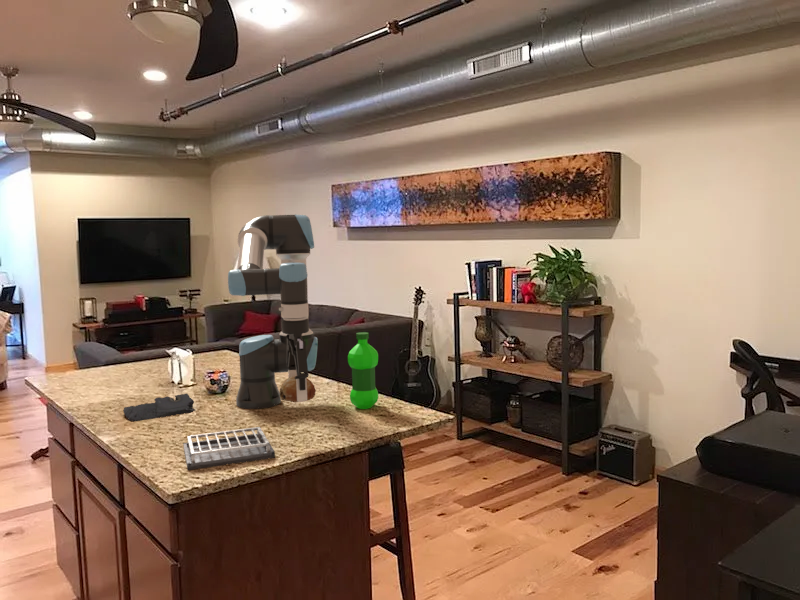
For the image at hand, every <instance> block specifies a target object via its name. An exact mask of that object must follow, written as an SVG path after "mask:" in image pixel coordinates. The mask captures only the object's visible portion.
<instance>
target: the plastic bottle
mask: <svg viewBox="0 0 800 600" xmlns="http://www.w3.org/2000/svg"><path fill="white" fill-rule="evenodd" d="M369 334H370V333H369V332H366V331H363V332H356V333H355V336H356V337H355V338H356V340H357V343H356V345H354V346H353V347H352V348H351V350H349V352H348V355H347V363H348V366H349V367H350V368H351V378H352V379H351V380H352V381H351V382H352V383H351V384H352V388H351V391H350V394H349V400H350V402H351V404H352V405H353V406H355V407H356V408H357V409H360V410H365V409H366V410H369V409H371V408H373V407H374V406H375V405H376V403H377V402H378V401H379V392H378V389H377V388H376V366H378V364H379V363H378V362H379V353H378V350H376V349H375V348H374V347H373V345H370V343H368V340H369V339H370V336H369Z"/></svg>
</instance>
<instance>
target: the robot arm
mask: <svg viewBox="0 0 800 600" xmlns="http://www.w3.org/2000/svg"><path fill="white" fill-rule="evenodd" d="M310 219H311V218H310V217H309V216H308V215H306V214H305V215H304V214H296V213H295V214H277V215H276V214H275V215H274V214H273V215H270V214H269V215H268V214H267V215H266V214H265V215H260V216H256V217H254V218H253V219H251V220H249V221H248V222H246V223H245V224H244V225H243V226H242V227H241V229H240V231H239V233H238V236H237V244H238V248H239V253H238V259H237V267H236V269H231V270H229V271H228V273H227V285H228V293H229V294H230V295H231V296H241V297H245V296H261V295H262V296H263V295H265V296H266V295H280V306H281V307H278V311H279V312H280V313H281V315H280V316H281V318H282V320H281V322H280V323H281V324H280V325H281V331H280V332H279V334H278V335H279V338H274V336H273V335H272V334H262V335H256V336H252V337H248V338H244V339H243V340H241V342H239V344H238V345H239V347H238V350H239V351H238V352H239V353H238V356H239V373H240V374H239V376H240V377H239V378H240V385H239V388H238V390H237V395H236V400H235V401H236V402H235V404H236V406H237V407H239V408H241V409H249V410H250V409H251V410H255V409H256V410H257V409H266V408H267V409H268V408H272V407H274V406H275V407H276V406H277V405H279V404H281V402H282V400H280V389H279V388H278V386H277V382H276V379H275V378H276V376H275V375H276V374H278V373H287V374H288V375H287V377H288V378H289V377H292V376H295V379H296V387H297V402H296V403H303V402H308V401H307V379H308V378H309V376H310V375H309V372H310V371H313V370H314V369H315V367H316V363H317V356H318V343H319V342H318V340H319V339H318V337H316V336H314V331H312V329H310V324H309V323H310V320H309V316H310V315H309V314H310V313H309V312H310V311H309V301H308V300H309V299H308V298H309V297H308V271H307V270H308V269H307V259H308V257H309V256H310V255H311V250H312V249H314V248H315V241H314V235H313V228H312V223H311V220H310ZM265 250H275V255H276V256H277V257H278V258H279V259H280V265H279V267H277V268H264V258H265V257H264V255H265V254H264V252H265ZM288 378H287V379H288Z"/></svg>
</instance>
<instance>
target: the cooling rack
mask: <svg viewBox="0 0 800 600" xmlns="http://www.w3.org/2000/svg"><path fill="white" fill-rule="evenodd" d="M255 431H256V432H255ZM246 432H252V433H251V434H246ZM237 433H243V435H237ZM228 434H233V435H234V436H228ZM221 435H224V437H221V438H219V437H218V436H221ZM213 436H214V437H215V438H213V439H209V437H213ZM186 438H187V442H183V445H182V446H183V451H184V452H183V453H184V458H185V464H186V468H187V471H191V470H199V469H198V468H200V469H205V468H212V467H213V466H214V467H218V466H219V467H220V466H227V465H226V464H228V465H233V464H232V463H235V464H241V463H240V462H242V463H246V461H247V463H248V461H249V462H254V461H255V460H256V461H262V460H261V459H263V460H269V459H268V458H270V459H275V458H276V452H275V450H274V448H273V447H272V444H270V442H269V439H267V438H268V437H266V435H265V433H264V432H263V430H262V428H261V427H260V426H256V427H248V428H240V429H231V430H225V431H224V430H223V431H217V432H209V433H201V434H191V435H187V437H186ZM199 438H206V439H205V440H199ZM192 439H196V441H192ZM214 467H213V468H214Z"/></svg>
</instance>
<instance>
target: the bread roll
mask: <svg viewBox="0 0 800 600" xmlns="http://www.w3.org/2000/svg"><path fill="white" fill-rule="evenodd" d="M316 392H317V391H316V388H315V384H314V383H313V382H312V381H311V380H310V379H309V378H307V401H306V402H308V401H309V400H312V399H314V398H315V396H316ZM279 393H280V400H281V401H286V402H291V403H298V402H297V387H296V379H295V376H292V377H289V378H286V379H285V380H284V381H283V382H282V383H281V385H280V387H279Z"/></svg>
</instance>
